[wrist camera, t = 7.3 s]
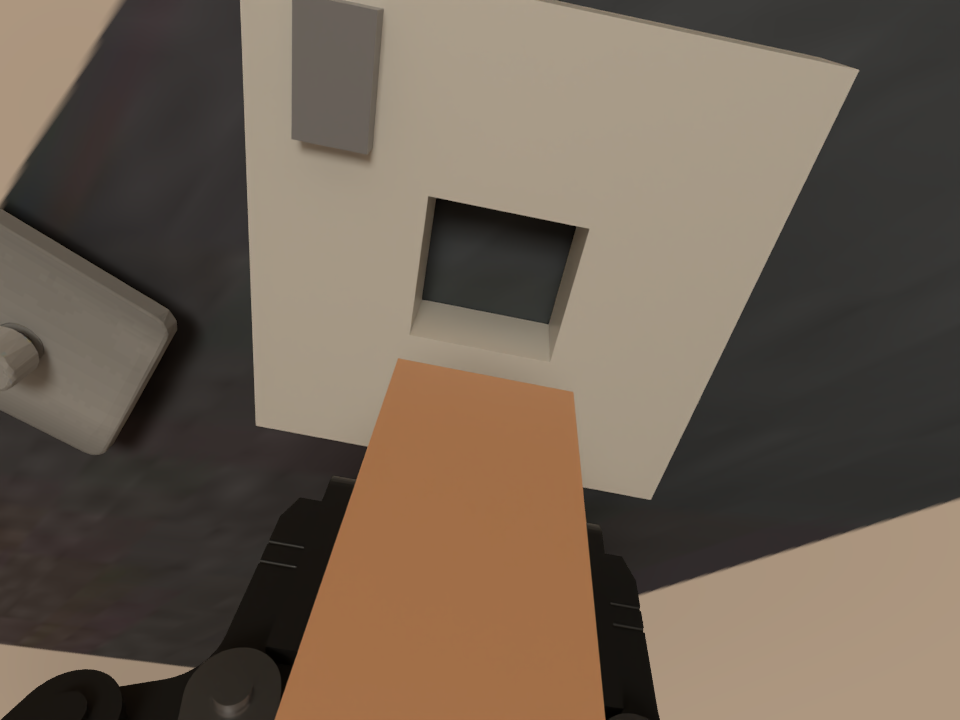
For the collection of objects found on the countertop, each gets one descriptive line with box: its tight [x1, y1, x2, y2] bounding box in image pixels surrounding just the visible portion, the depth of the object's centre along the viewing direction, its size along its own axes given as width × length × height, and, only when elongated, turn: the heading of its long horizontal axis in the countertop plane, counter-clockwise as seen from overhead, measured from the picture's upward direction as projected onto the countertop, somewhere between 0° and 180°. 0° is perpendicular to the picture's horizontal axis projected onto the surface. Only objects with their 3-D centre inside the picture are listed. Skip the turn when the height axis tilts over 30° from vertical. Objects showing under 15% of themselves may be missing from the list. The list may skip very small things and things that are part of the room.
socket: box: [240, 0, 859, 500], centre depth 23 cm, size 18×18×4 cm
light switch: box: [0, 209, 177, 455], centre depth 26 cm, size 10×10×5 cm
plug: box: [275, 358, 605, 720], centre depth 10 cm, size 4×4×12 cm
